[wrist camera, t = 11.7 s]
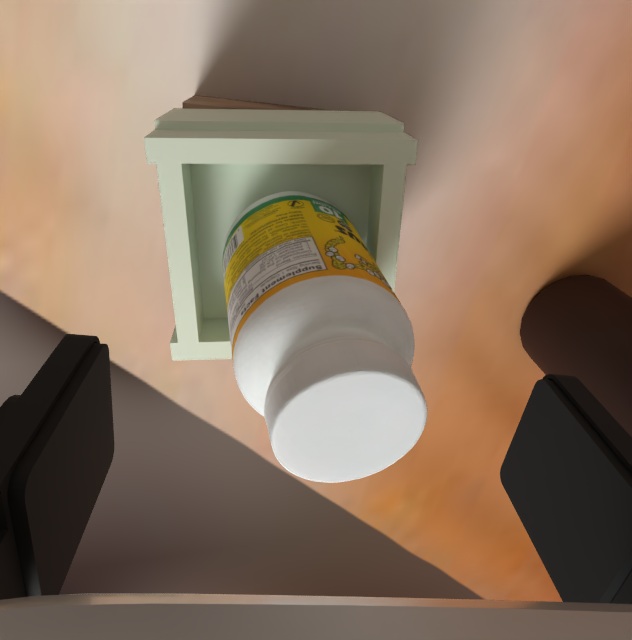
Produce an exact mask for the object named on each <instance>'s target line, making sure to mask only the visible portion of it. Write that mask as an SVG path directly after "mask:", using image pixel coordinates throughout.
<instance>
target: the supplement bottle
mask: <svg viewBox="0 0 632 640" xmlns="http://www.w3.org/2000/svg"><path fill="white" fill-rule="evenodd" d="M222 268H223V280H224V288H225V296H226V304H227V313H228V324H229V333H230V342H231V351H232V360H233V367H234V373H235V377H236V381H237V383H238V386H239V388H240V390H241V392H242V394H243V396H244V397H245V399H246V400H247V401H248V403H249V404H250V405H251V406H252V407H253V408H254V409H255V410H256V411H257V412H258V413H260V414H261V415H262V416H264V417H265V420H266V424H267V427H268V432H269V436H270V441H271V445H272V449H273V452H274V454H275V456H276V458H277V460H278V461H279V462H280V463H281V465H282V466H283V467H284V468H285V469H287V470H288V471H289V472H291V473H293V474H294V475H296V476H298V477H301V478H304V479H307V480H311V481H318V482H329V483H336V482H343V481H350V480H355V479H359V478H363V477H366V476H369V475H372V474H375V473H377V472H379V471H381V470H383V469H385V468H387V467H388V466H390V465H392V464H393V463H395V462H396V461H397V460H399V459H400V458H402V457H403V456H404V455H405V454H406V453H407V452H408V451H409V450H410V449H411V448H412V447H413V446H414V445H415V444H416V442H417V441H418V439H419V437H420V436H421V434H422V432H423V429H424V427H425V424H426V419H427V405H426V401H425V398H424V395H423V393H422V391H421V388H420V386H419V384H418V382H417V380H416V378H415V376H414V374H413V372H412V369H411V365H412V361H413V356H414V334H413V330H412V326H411V322H410V320H409V318H408V316H407V313H406V311H405V309H404V308H403V306H402V305H401V303H400V301H399V300H398V298H397V297H396V295H395V293H394V292H393V290H392V288H391V286H390V285H389V283H388V282H387V280H386V279H385V277H384V275H383V274H382V272H381V270H380V269H379V267H378V266H377V264H376V262H375V261H374V258H373V257H372V256H371V254H370V252H369V250H368V249H367V247H366V246H365V244H364V242H363V241H362V239H361V238H360V236H359V234H358V233H357V231H356V230H355V228H354V226H353V225H352V223H351V222H350V220H349V219H348V218H347V216H346V215H345V214H344V213H343V212H342V211H341V210H340V209H339V208H338V207H337V206H335V205H334V204H332V203H330V202H329V201H327V200H325V199H322V198H320V197H318V196H316V195H312V194H309V193H305V192H298V191H285V192H279V193H276V194H272V195H269V196H266V197H264V198H262V199H260V200H258V201H256V202H255V203H253V204H251V205H250V206H249V207H247V208H246V209H245V210H244V211H243V212H242V213H241V214H240V215H239V216H238V217H237V219H236V220H235V221H234V222H233V224H232V226H231V227H230V229H229V231H228V233H227V235H226V238H225V241H224V245H223V251H222Z"/></svg>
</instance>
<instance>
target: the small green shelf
mask: <svg viewBox="0 0 632 640" xmlns="http://www.w3.org/2000/svg"><path fill="white" fill-rule="evenodd" d="M154 122H155V130H154V131H153V132H151V133H150V134H148V135H147V136H146V137H144V143H145V151H146V159H147V163H156V164H157V172H158V181H159V189H160V197H161V206H162V214H163V222H164V231H165V239H166V247H167V256H168V264H169V273H170V281H171V289H172V298H173V306H174V314H175V323H176V326H175V329H174V332H173V335H172V339H171V342H170V347H171V354H172V361H174V360H207V359H232V351H231V342H230V333H229V324H228V313H227V304H226V296H225V288H224V280H223V268H222V251H223V245H224V241H225V238H226V235H227V233H228V231H229V229H230V227H231V226H232V224H233V222H234V221H235V220H236V219H237V217H238V216H239V215H240V214H241V213H242V212H243V211H244V210H245V209H246V208H247V207H249V206H250V205H251V204H253V203H255V202H256V201H258V200H260V199H262V198H264V197H266V196H269V195H272V194H276V193H279V192H285V191H298V192H305V193H309V194H312V195H316V196H318V197H320V198H322V199H325V200H327V201H329V202H330V203H332V204H334V205H335V206H337V207H338V208H339V209H340V210H341V211H342V212H343V213H344V214H345V215H346V216H347V218H348V219H349V220H350V222H351V223H352V225H353V226H354V228H355V230H356V231H357V233H358V234H359V236H360V238H361V239H362V241H363V242H364V244H365V246H366V247H367V249H368V250H369V252H370V254H371V256H372V257H373V258H374V261H375V262H376V264H377V266H378V267H379V269H380V270H381V272H382V274H383V275H384V277H385V279H386V280H387V282H388V283H389V285H390V286H391V288H392V290H393V292H394V287H395V277H396V268H397V258H398V248H399V238H400V228H401V219H402V209H403V199H404V189H405V179H406V170H407V165H416V156H417V147H418V140H417V139H415V138H413V137H411V136H410V135H408V134H406V133H404V123H402V122H400V121H398V120H396V119H394V118H392V117H390V116H388V115H386V114H384V113H382V112H380V111H321V110H252V109H184V108H174V109H172V110H170V111H169V112H167V113H166V114H164V115H162V116H161V117H159V118H157V119H156V120H154Z"/></svg>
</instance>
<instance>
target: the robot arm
mask: <svg viewBox="0 0 632 640" xmlns="http://www.w3.org/2000/svg"><path fill="white" fill-rule="evenodd" d="M113 454H114V431H113V414H112V396H111V379H110V361H109V348H108V345H107V344H100V341H99V339H98V337H97V336H87V335H75V334H66V335H65V337H64V338H63V339H62V340H61V342H60V343H59V344H58V346H57V347H56V348H55V350H54V351H53V353H52V354H51V355H50V357H49V358H48V359H47V361H46V362H45V364H44V365H43V366H42V367H41V369H40V370H39V371H38V373H37V374H36V376H35V377H34V378H33V380H32V381H31V382H30V384H29V385H28V386H27V388H26V389H25V391H24V392H23V393H22V394H21V395H13V396H11V397H9V398H8V399H7V400H6V401H5V402H4V403H3V405H2V406H1V407H0V640H632V437H631V436H630V435H629V434H628V433H627V432H626V431H625V429H624V428H623V427H622V426H621V425H620V424H619V423H618V422H617V421H616V420H615V418H614V417H613V416H612V415H611V414H610V413H609V412H608V411H607V410H606V409H605V408H604V406H603V405H602V404H601V403H600V402H599V401H598V400H597V399H596V398H595V397H594V395H593V394H592V393H591V392H590V391H589V390H588V389H587V388H586V387H585V386H584V385H583V383H582V382H581V381H580V380H579V379H578V378H577V377H575V376H571V375H559V374H547V375H546V376H545V377H543V379H541V380H538V381H537V382H536V384H535V386H534V388H533V390H532V393H531V395H530V398H529V400H528V403H527V405H526V408H525V410H524V413H523V415H522V417H521V420H520V422H519V425H518V427H517V430H516V432H515V435H514V437H513V439H512V442H511V444H510V447H509V449H508V452H507V454H506V457H505V459H504V461H503V464H502V466H501V471H500V478H501V482H502V485H503V487H504V488H505V490H506V492H507V494H508V496H509V498H510V500H511V502H512V504H513V506H514V508H515V510H516V512H517V514H518V516H519V517H520V519H521V521H522V523H523V525H524V527H525V529H526V531H527V533H528V535H529V537H530V539H531V541H532V543H533V545H534V546H535V548H536V550H537V552H538V554H539V556H540V558H541V560H542V562H543V564H544V566H545V568H546V570H547V572H548V574H549V575H550V577H551V579H552V581H553V583H554V585H555V587H556V589H557V591H558V593H559V595H560V597H561V599H562V601H563V602H543V601H509V600H471V599H469V600H467V599H427V598H385V597H384V598H382V597H338V596H285V595H224V594H70V595H59V593H60V590H61V588H62V585H63V583H64V580H65V578H66V575H67V573H68V570H69V568H70V565H71V563H72V560H73V558H74V555H75V553H76V550H77V547H78V545H79V543H80V540H81V538H82V535H83V533H84V530H85V528H86V525H87V523H88V520H89V518H90V515H91V513H92V510H93V508H94V505H95V503H96V500H97V497H98V495H99V493H100V490H101V487H102V485H103V483H104V480H105V477H106V475H107V473H108V470H109V467H110V465H111V462H112V459H113Z"/></svg>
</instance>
